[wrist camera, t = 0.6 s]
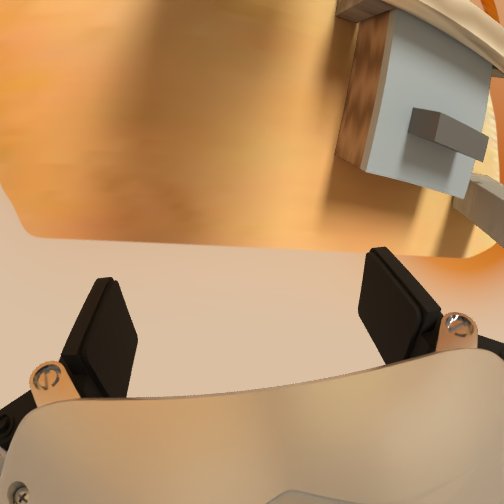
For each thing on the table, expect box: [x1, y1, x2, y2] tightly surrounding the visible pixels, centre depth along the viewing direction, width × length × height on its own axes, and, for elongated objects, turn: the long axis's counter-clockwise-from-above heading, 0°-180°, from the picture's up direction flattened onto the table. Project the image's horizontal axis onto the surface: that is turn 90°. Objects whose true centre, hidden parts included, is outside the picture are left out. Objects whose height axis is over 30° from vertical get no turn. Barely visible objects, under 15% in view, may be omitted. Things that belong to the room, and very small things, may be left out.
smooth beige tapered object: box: [382, 0, 504, 73], centre depth 20 cm, size 4×24×4 cm, turn 80°
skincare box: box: [452, 173, 504, 248], centre depth 37 cm, size 8×7×16 cm
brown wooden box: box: [335, 0, 504, 169], centre depth 30 cm, size 26×23×10 cm
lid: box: [360, 7, 492, 199], centre depth 25 cm, size 26×16×8 cm, turn 170°
